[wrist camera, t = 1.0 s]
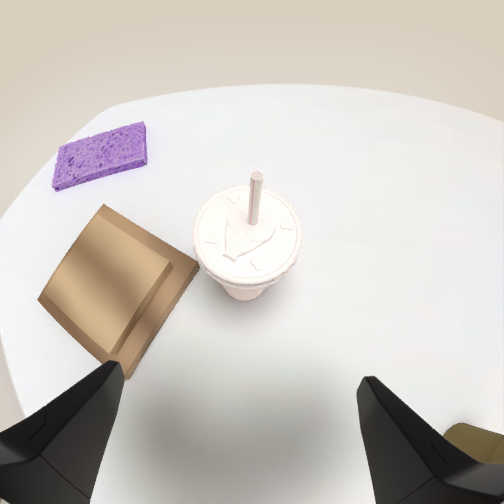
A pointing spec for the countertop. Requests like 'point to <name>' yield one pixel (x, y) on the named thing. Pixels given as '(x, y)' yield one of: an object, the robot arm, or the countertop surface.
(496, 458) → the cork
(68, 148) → the sponges
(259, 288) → the smoothie
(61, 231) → the countertop surface
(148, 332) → the walnut base
